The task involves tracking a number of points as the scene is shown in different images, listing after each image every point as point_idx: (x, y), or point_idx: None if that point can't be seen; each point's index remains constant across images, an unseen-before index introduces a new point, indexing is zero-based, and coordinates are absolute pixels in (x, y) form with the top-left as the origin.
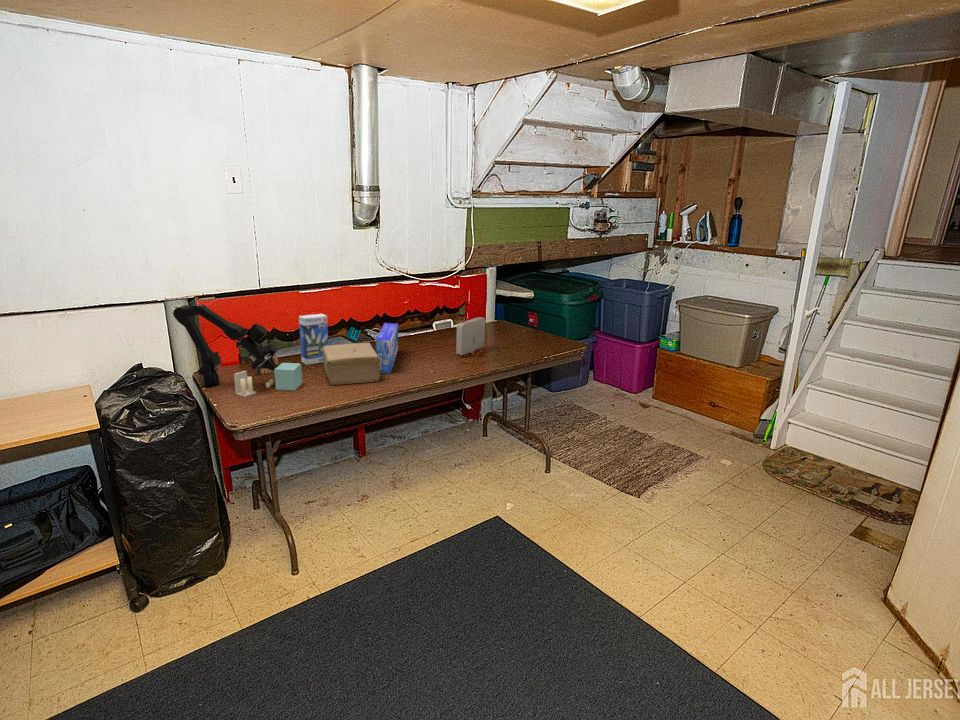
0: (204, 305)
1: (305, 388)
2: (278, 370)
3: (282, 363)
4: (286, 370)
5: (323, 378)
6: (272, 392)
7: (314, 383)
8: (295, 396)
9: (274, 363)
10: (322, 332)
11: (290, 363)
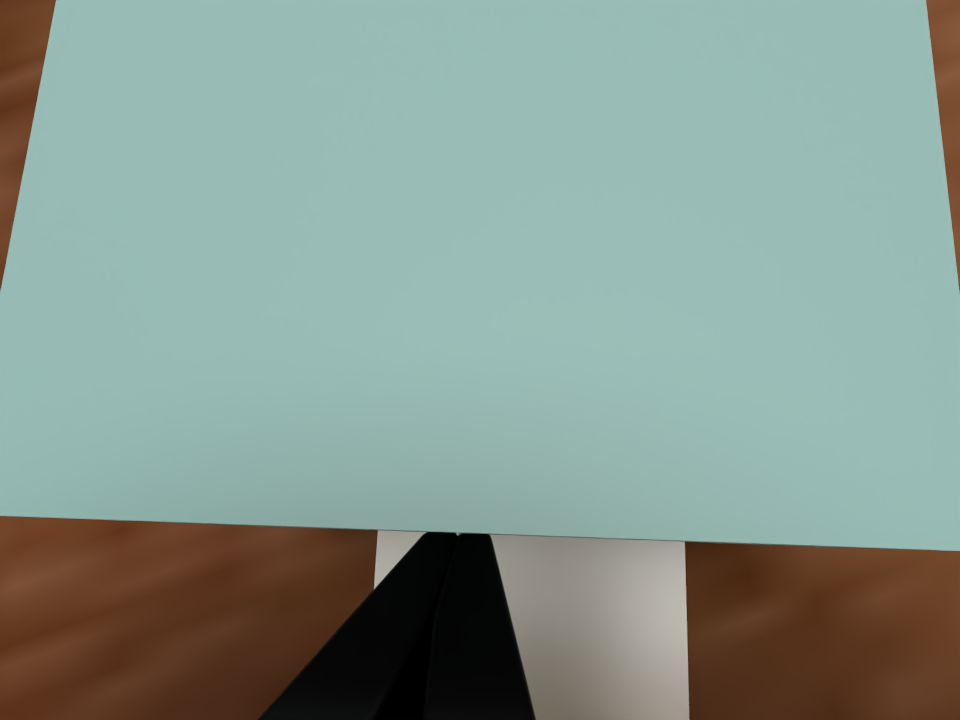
0: None
1: None
2: (935, 349)
3: (58, 472)
4: (907, 4)
5: (50, 3)
6: (818, 600)
7: None
8: (944, 98)
9: None
10: None
11: (67, 161)
